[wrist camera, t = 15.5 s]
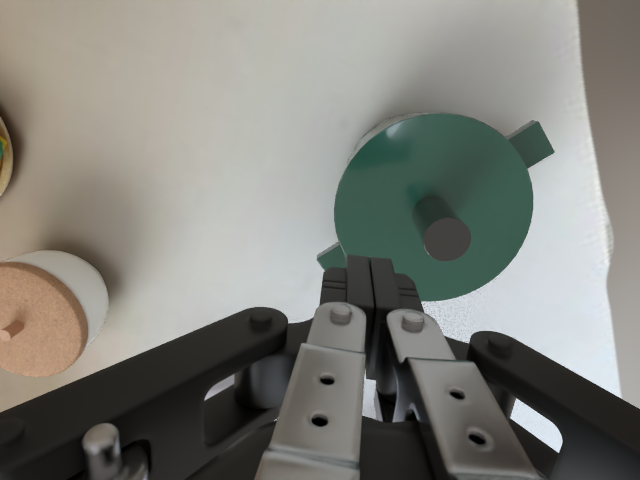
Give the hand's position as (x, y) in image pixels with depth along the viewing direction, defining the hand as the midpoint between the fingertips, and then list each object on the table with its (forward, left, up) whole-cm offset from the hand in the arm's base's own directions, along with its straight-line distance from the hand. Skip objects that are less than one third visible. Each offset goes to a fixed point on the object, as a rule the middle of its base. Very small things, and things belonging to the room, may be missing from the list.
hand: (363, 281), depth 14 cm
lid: (+4, +3, -15) cm, 16 cm away
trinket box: (-6, -30, -24) cm, 39 cm away
